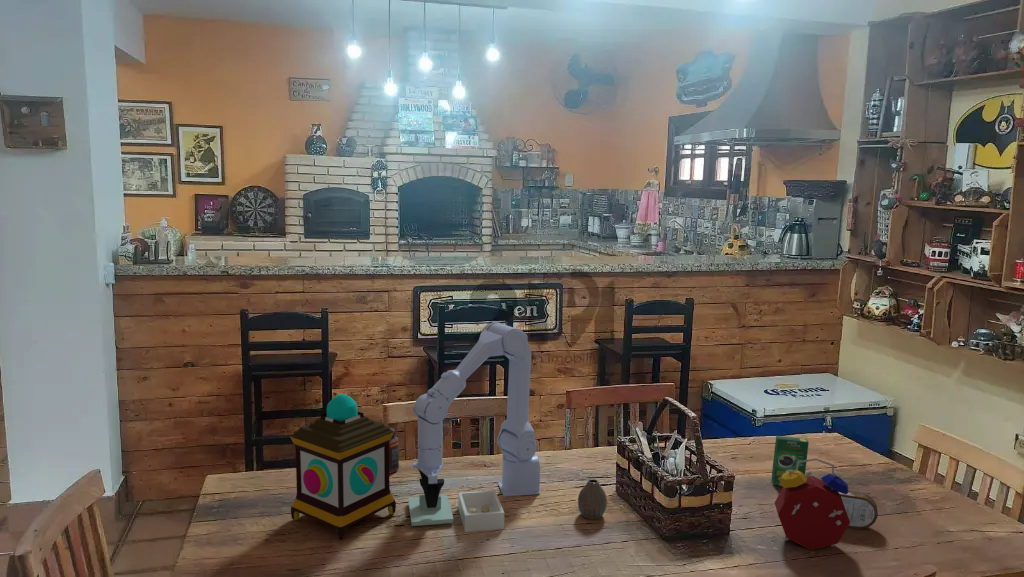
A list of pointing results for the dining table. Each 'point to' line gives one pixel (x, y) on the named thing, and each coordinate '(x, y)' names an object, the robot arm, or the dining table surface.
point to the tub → (480, 511)
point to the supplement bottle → (393, 453)
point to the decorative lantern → (342, 467)
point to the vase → (592, 500)
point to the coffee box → (788, 456)
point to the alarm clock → (812, 508)
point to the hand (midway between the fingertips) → (430, 499)
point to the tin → (859, 509)
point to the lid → (429, 511)
